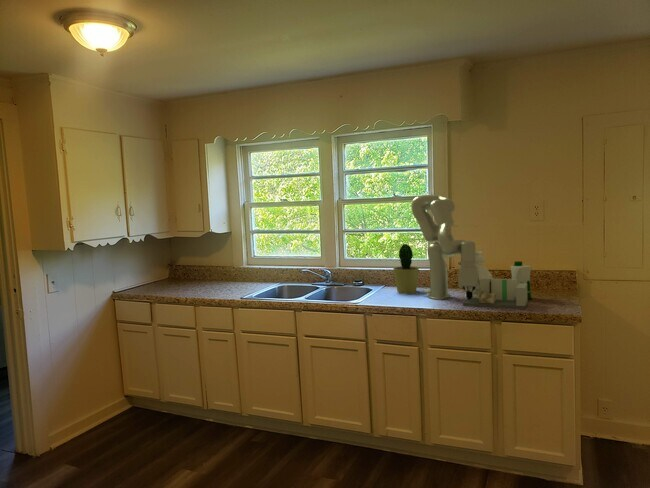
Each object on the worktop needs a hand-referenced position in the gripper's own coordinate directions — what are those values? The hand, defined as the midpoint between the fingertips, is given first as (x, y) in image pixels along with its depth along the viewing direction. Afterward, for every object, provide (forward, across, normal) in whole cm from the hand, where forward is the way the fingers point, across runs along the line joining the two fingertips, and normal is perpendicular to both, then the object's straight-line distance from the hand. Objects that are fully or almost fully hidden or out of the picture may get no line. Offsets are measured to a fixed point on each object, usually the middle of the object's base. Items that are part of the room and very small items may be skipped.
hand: (469, 298), depth 259 cm
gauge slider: (+1, +9, +2) cm, 9 cm away
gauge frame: (+3, +13, +2) cm, 13 cm away
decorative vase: (+3, 0, +22) cm, 22 cm away
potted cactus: (+3, -42, +23) cm, 48 cm away
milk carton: (+3, +24, +19) cm, 30 cm away
